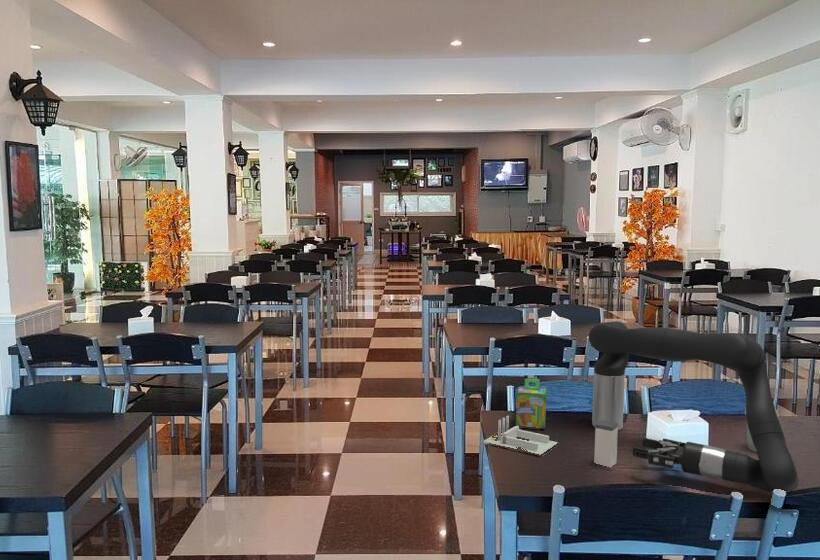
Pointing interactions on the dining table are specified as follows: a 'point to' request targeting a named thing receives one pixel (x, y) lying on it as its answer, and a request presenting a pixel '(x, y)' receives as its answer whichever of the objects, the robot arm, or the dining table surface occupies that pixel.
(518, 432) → the header socket
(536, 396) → the chalk box
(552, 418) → the dining table surface
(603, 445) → the block
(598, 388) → the robot arm
